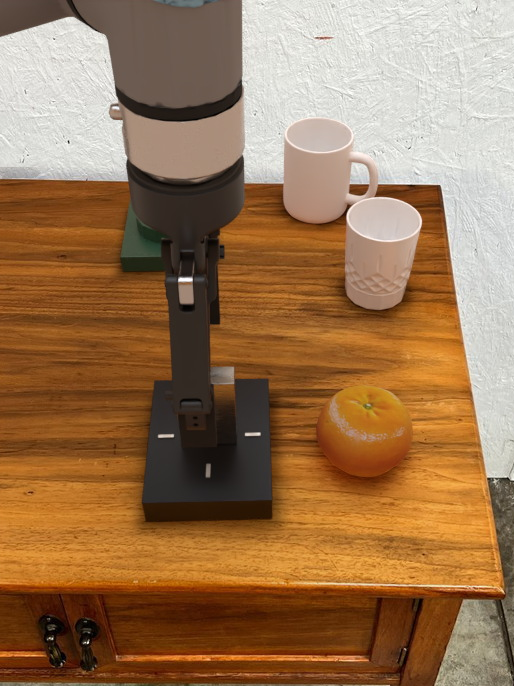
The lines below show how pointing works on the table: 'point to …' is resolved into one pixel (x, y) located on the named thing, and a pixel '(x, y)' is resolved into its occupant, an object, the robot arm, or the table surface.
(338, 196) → the cup
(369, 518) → the table surface
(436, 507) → the table surface
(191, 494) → the panel
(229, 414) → the knob
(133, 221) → the button block
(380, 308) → the white cup
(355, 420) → the fruit
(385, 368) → the table surface
